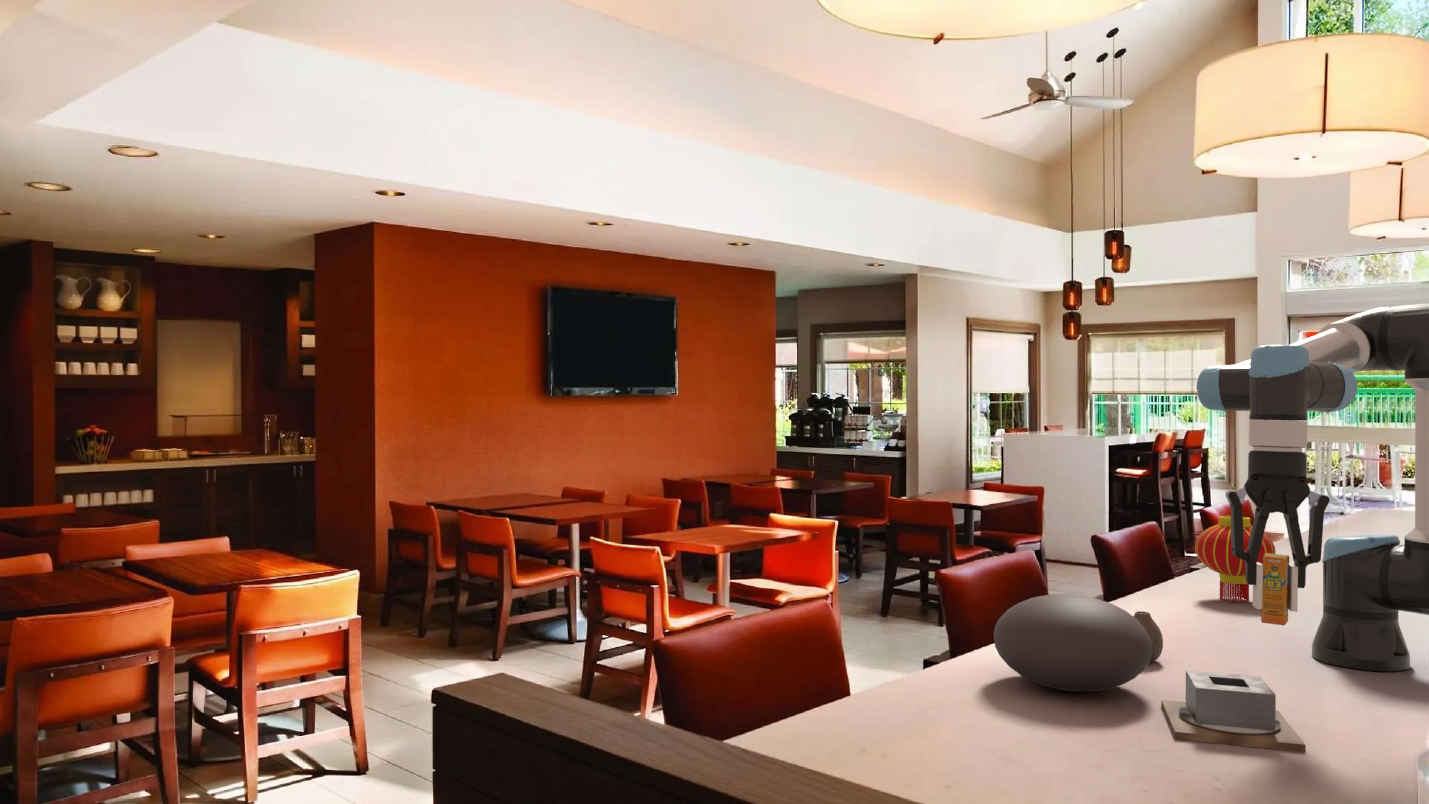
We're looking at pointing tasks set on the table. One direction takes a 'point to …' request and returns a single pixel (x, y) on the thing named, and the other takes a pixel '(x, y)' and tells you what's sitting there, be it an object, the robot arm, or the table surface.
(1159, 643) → the vase
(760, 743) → the table surface
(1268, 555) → the supplement box
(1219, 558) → the lantern
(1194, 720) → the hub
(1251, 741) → the walnut board
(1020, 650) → the smooth stone
